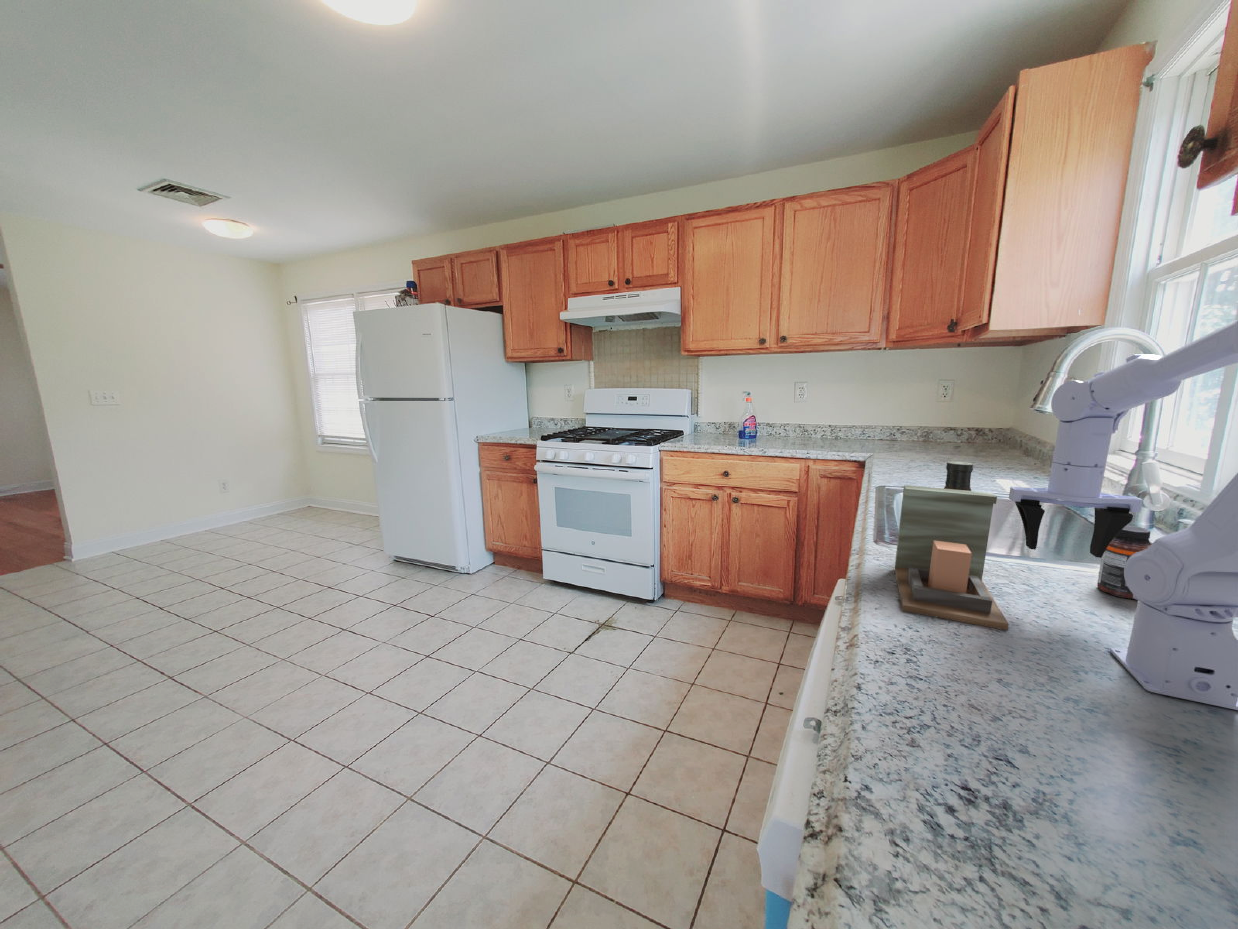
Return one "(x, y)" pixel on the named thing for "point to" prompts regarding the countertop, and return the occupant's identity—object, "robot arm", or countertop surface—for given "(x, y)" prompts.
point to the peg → (949, 566)
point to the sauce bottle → (958, 475)
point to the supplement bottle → (1121, 559)
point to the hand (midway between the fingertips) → (1062, 551)
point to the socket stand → (945, 521)
